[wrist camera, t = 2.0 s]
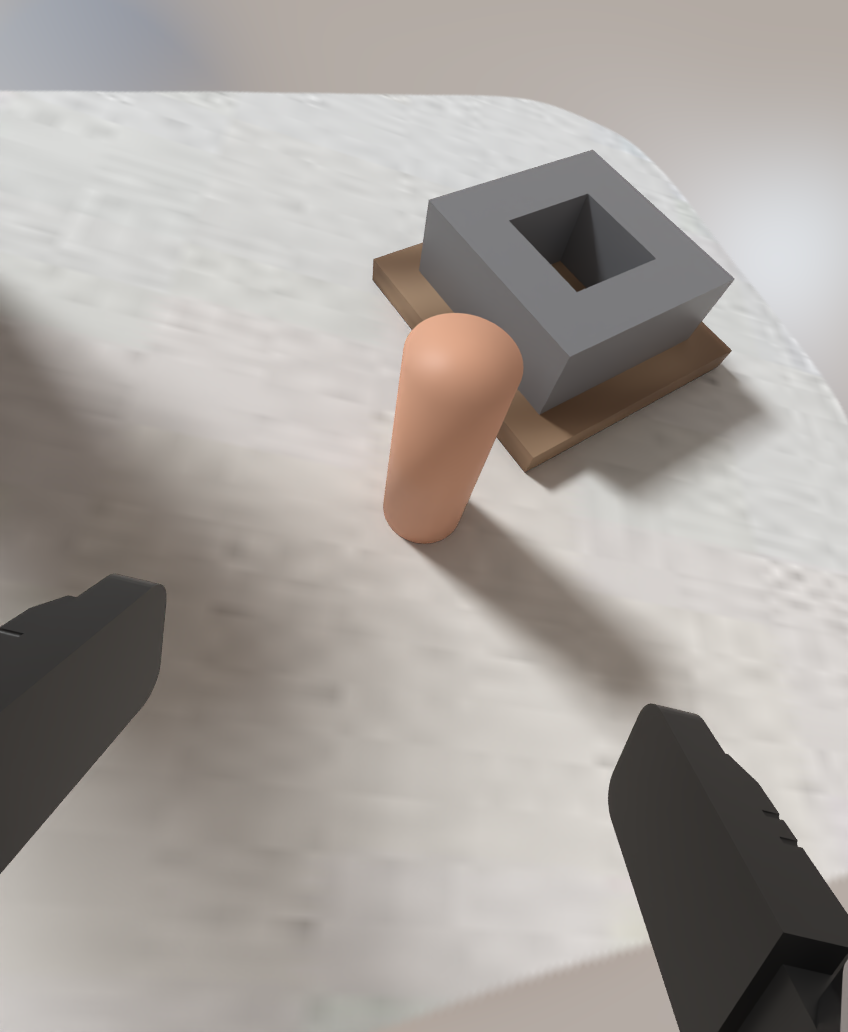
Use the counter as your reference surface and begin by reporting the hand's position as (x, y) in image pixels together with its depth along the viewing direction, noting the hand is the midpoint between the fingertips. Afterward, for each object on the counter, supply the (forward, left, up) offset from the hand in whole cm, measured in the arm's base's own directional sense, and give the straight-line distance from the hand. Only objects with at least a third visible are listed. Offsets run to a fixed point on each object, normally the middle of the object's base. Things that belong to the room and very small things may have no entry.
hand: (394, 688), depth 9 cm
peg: (-8, +8, -15) cm, 19 cm away
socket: (-15, +22, -14) cm, 30 cm away
